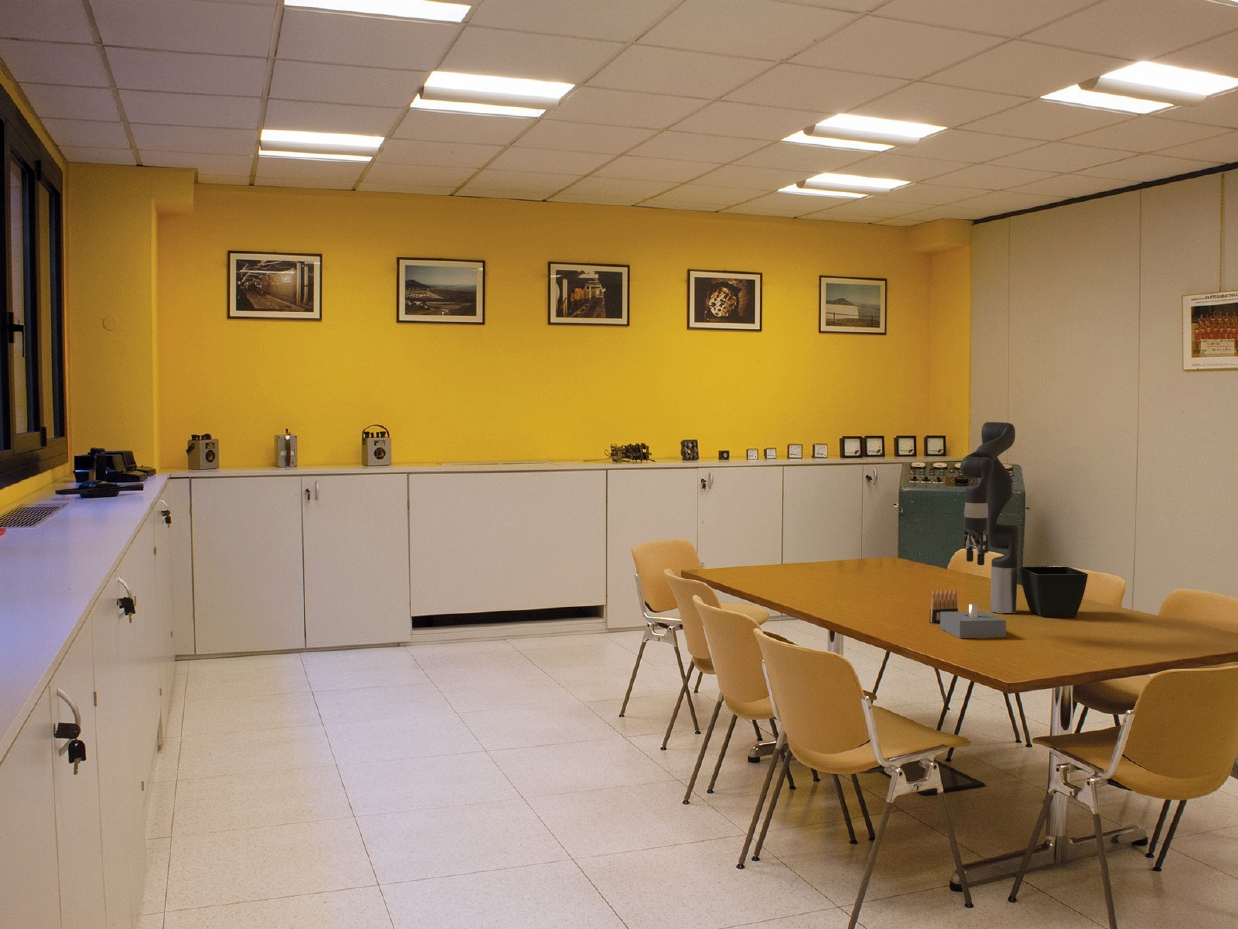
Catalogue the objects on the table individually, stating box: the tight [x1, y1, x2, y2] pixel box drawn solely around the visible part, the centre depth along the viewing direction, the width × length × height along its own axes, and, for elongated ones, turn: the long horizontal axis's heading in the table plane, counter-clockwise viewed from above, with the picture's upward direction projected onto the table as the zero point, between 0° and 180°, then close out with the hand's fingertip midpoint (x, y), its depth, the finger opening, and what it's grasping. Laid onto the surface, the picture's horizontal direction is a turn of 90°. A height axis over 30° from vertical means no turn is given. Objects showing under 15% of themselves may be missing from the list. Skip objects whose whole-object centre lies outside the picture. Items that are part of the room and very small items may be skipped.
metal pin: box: [967, 603, 979, 617], centre depth 350 cm, size 3×3×10 cm
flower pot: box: [1018, 566, 1089, 618], centre depth 385 cm, size 19×19×17 cm
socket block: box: [939, 610, 1007, 639], centre depth 350 cm, size 16×16×6 cm
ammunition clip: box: [928, 588, 959, 624], centre depth 368 cm, size 11×2×12 cm, turn 105°
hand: (975, 563), depth 350 cm, fingers open, 8 cm apart
